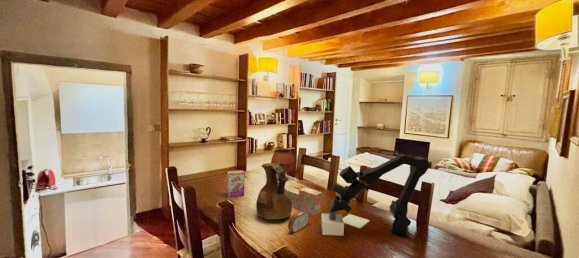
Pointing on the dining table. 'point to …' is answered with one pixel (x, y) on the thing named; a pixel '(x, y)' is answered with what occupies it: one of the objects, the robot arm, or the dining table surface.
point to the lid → (332, 214)
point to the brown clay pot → (283, 159)
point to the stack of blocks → (306, 200)
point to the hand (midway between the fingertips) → (329, 210)
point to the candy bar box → (235, 183)
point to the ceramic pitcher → (274, 194)
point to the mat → (355, 221)
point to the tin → (298, 221)
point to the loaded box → (332, 227)
